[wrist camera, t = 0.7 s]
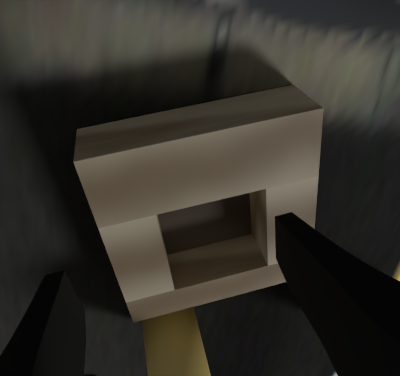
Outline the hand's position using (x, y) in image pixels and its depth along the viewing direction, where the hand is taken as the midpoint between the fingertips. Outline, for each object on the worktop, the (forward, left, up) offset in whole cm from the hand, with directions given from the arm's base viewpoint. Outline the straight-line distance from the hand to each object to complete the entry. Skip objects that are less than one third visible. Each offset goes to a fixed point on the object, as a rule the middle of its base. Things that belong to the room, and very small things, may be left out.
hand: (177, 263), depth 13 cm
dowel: (-15, +1, -10) cm, 18 cm away
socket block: (-5, -3, -10) cm, 11 cm away
